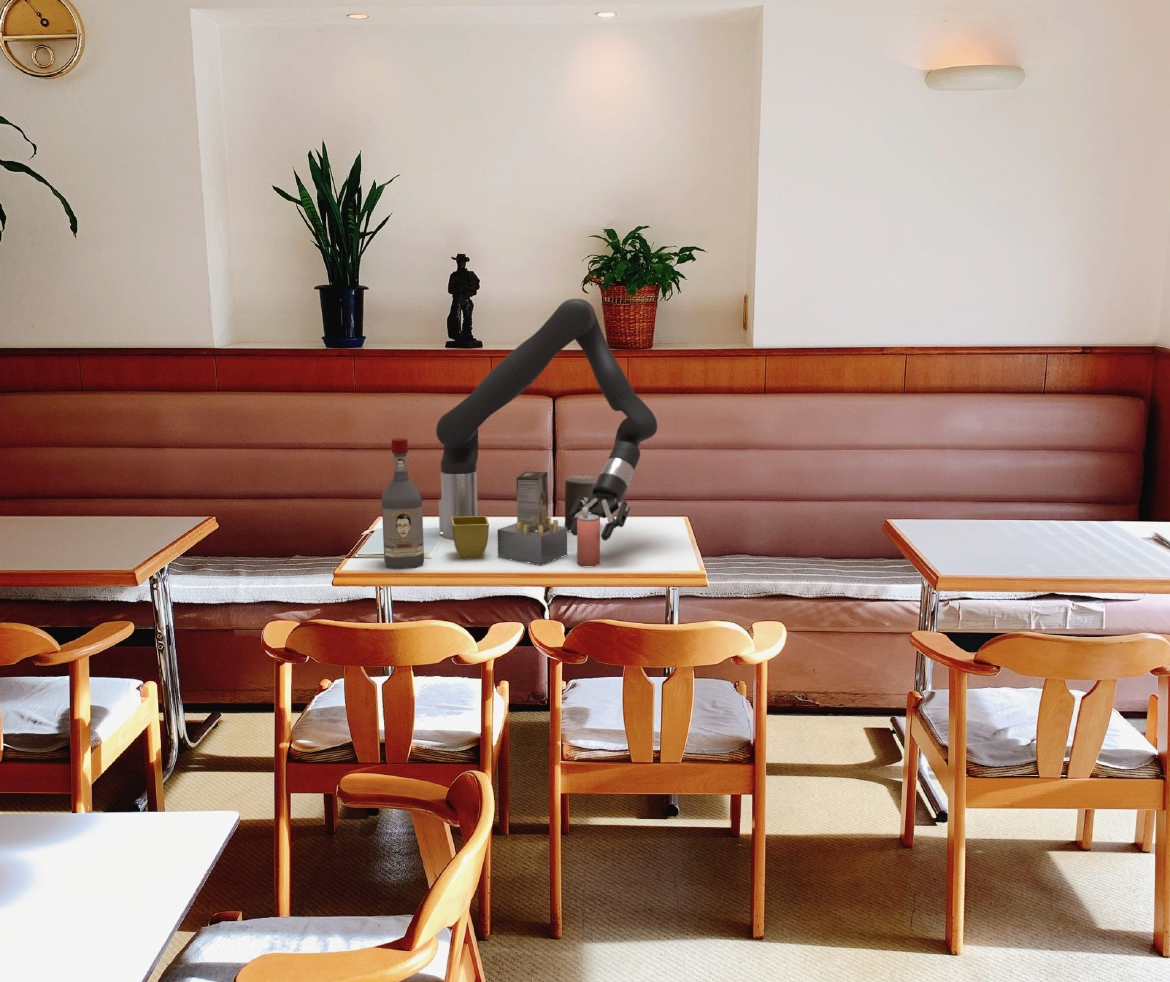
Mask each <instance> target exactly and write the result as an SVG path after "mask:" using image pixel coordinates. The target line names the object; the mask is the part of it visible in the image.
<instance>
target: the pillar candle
mask: <svg viewBox="0 0 1170 982" xmlns="http://www.w3.org/2000/svg"><path fill="white" fill-rule="evenodd" d="M597 479H598V477H596V476H590V475H583V474H581V475H574V476H573V475H572V476H568V477H566V478H565V483H564V484H565V485H564V486H565V487H564V489H565V490H564V527H567V531H568V530H570V528H571V526H572V523H573V521H574V519H573V518H572V516H571V515H570V511H571V509H572V507H573V505H574V504H575V502H576V500H577V498H578V496H579V495H583V497H585V498H589V497H590V496H591V495H592V493H593V488H594V486H595V484H596V482H597ZM587 504H588V503H587ZM587 504H586V505H587ZM588 513H590V510H588ZM599 518H600V519H601V517H599Z"/></svg>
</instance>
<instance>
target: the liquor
mask: <svg viewBox="0 0 1170 982" xmlns="http://www.w3.org/2000/svg"><path fill="white" fill-rule="evenodd" d="M391 453H392V454H393V476H392V481H390V483H389V484H388V485H387V486H386V488H385V489H384V490H383V492H382V495H381V508H382V509H381V510H382V511H381V517H382V538H383V559H384V565H385V566H386V568H388V569H389V568H390V569H394V570H398V569H414V568H419V567H422V566H423V565H424V563H425V547H424V519H423V518H424V515H423V499H422V496H421V493H420V490H419V489H418V488H417V487H416V486H415V484H413V482H412V481H411V480H410V478H409V474H408V459H407V458H408V456H407V455H408V454H407V453H409V446H408V439H407V438H404V437H401V438H400V437H398V438H392V439H391Z"/></svg>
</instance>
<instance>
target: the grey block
mask: <svg viewBox="0 0 1170 982" xmlns="http://www.w3.org/2000/svg"><path fill="white" fill-rule="evenodd" d="M564 555H566V556H568V530H567V527H565V526H559V520H558V519H553V520H552V517H549V516H548V517H546V518H545V524H543V523H537V517H532V522H531V521H525V519H524V518H521V519H520V522H517V521H516V523H513V524H510V525H507V526H504V527H501V528H497V558H500V559H504V558H505V560H510V559H512V560H511V561H515V560H516V561H515V562H520V561H523V562H522V563H525V562H530V563H529V564H531V563H534V564H533V565H536V564H540V565H539V566H543V565H542V564H544V565H546V564H548V563H547V562H549V561H551V562H553V561H552V560H554V559H556V560H558V559H557V558H559V557H561V556H564ZM564 557H565V556H564ZM561 558H562V557H561ZM559 559H560V558H559ZM554 561H555V560H554ZM545 563H546V564H545ZM549 563H550V562H549Z"/></svg>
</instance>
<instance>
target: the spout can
mask: <svg viewBox="0 0 1170 982" xmlns="http://www.w3.org/2000/svg"><path fill="white" fill-rule="evenodd" d="M576 537H577V538H576V539H577V541H576V542H577V543H576V549H577V550H576V551H577V552H576V555H577V557H576V558H577V559H576V563H577V565H578V564H579V565H580V567H583V566H594V567H597V566H596V565H598V564H601V517H600V518H599V516H598V515H593V514H588V507H583V515H580V516H578V518H577V536H576ZM579 565H578V566H579ZM598 566H599V565H598Z"/></svg>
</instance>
